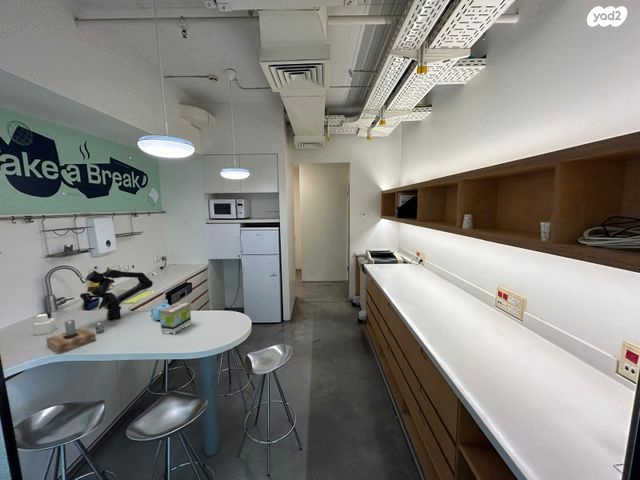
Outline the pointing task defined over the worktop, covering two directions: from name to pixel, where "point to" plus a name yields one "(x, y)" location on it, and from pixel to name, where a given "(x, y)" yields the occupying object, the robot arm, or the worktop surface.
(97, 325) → the short pin
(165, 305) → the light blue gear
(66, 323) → the long pin
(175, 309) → the tea box
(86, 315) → the worktop surface
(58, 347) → the plate
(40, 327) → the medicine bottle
